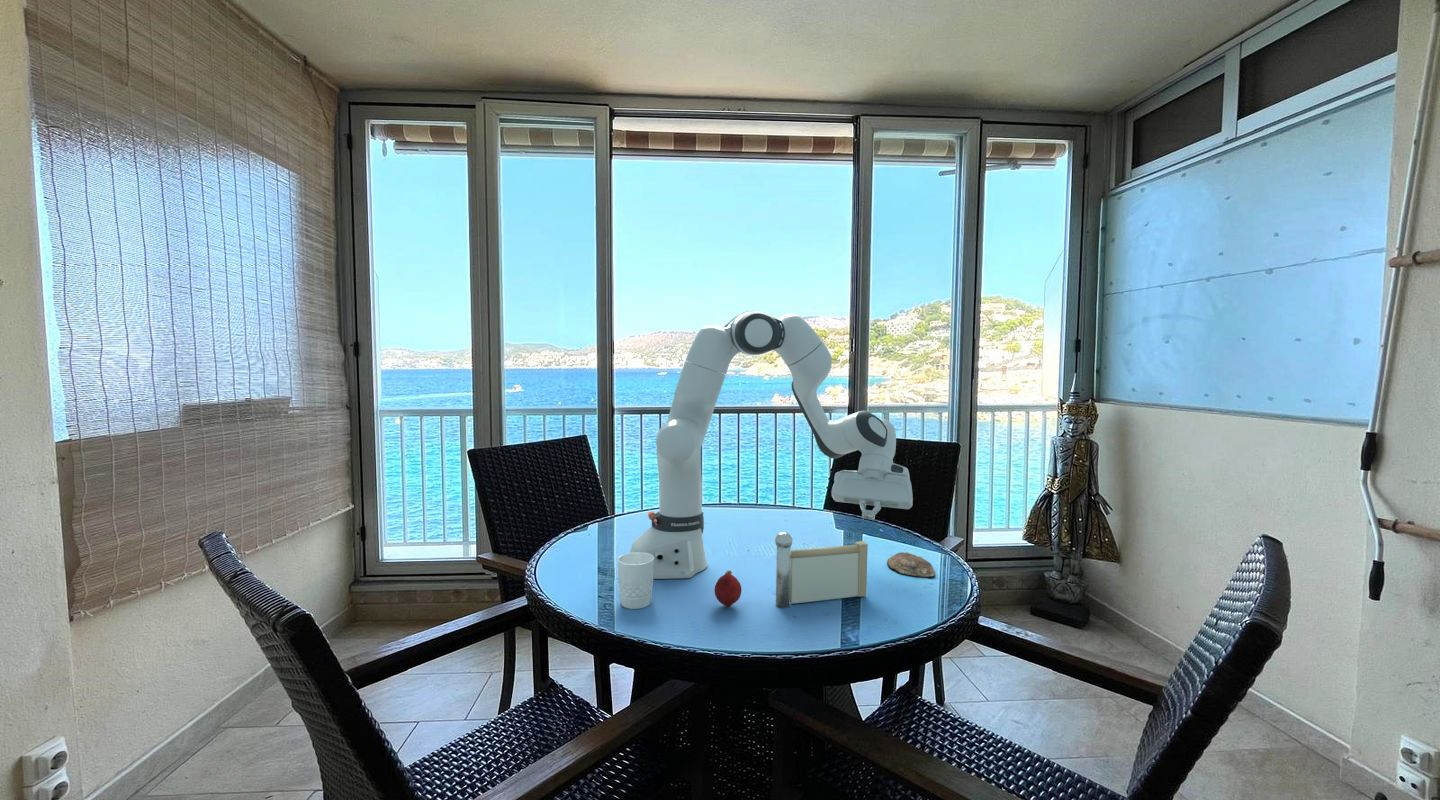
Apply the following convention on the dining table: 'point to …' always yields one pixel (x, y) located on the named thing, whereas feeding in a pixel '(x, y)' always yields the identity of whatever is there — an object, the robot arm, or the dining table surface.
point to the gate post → (783, 569)
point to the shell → (910, 565)
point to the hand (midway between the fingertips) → (868, 518)
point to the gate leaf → (828, 573)
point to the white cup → (636, 579)
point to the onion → (727, 589)
